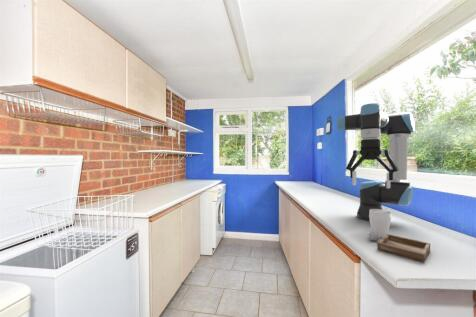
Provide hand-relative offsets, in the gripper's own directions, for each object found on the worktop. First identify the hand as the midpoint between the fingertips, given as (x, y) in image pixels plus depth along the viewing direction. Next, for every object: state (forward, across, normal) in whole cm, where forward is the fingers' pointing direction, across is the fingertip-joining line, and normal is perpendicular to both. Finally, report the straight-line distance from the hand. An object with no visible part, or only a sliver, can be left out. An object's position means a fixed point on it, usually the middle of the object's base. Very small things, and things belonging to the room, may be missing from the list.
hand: (370, 186), depth 98 cm
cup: (+26, 0, +14) cm, 30 cm away
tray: (+26, +12, +2) cm, 28 cm away
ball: (+26, 0, +4) cm, 26 cm away
